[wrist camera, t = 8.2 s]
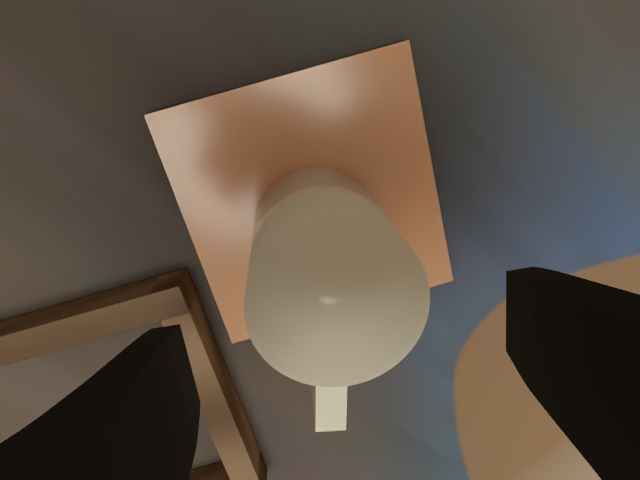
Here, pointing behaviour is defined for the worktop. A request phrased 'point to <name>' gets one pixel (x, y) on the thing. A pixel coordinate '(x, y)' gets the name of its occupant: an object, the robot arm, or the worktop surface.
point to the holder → (139, 310)
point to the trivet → (301, 159)
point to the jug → (331, 288)
